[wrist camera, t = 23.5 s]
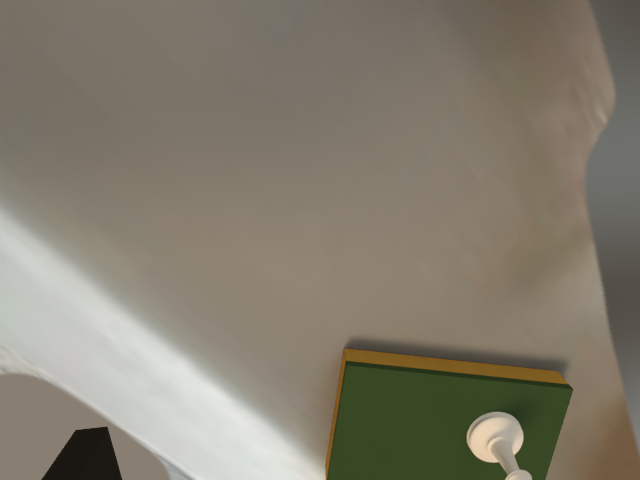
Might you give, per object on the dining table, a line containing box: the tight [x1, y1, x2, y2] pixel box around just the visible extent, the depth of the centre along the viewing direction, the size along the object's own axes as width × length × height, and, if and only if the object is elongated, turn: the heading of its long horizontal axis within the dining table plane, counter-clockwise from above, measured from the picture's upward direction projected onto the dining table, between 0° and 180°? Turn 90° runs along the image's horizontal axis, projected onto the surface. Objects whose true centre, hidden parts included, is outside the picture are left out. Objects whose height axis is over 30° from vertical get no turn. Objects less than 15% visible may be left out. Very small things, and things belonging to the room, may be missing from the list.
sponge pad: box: [325, 348, 573, 480], centre depth 47 cm, size 20×13×3 cm, turn 83°
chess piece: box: [467, 412, 532, 480], centre depth 40 cm, size 5×5×10 cm
